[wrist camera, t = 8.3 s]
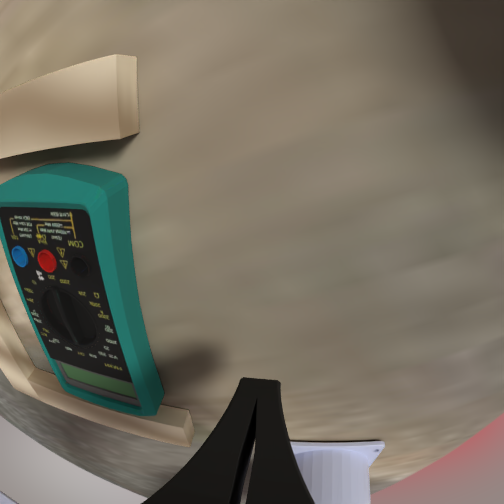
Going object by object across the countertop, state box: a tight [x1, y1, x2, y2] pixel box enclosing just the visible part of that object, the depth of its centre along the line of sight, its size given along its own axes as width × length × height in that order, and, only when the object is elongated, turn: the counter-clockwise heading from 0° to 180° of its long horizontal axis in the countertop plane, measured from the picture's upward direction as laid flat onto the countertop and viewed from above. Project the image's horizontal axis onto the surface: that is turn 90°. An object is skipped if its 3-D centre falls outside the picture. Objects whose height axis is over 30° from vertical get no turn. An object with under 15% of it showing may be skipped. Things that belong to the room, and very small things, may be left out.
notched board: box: [0, 54, 195, 447], centre depth 13 cm, size 23×18×6 cm
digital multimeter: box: [0, 162, 164, 416], centre depth 14 cm, size 7×15×3 cm, turn 178°
